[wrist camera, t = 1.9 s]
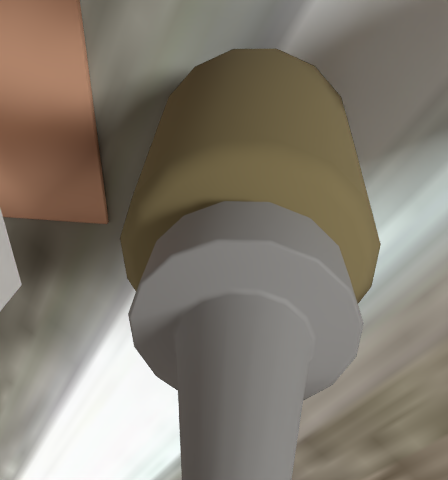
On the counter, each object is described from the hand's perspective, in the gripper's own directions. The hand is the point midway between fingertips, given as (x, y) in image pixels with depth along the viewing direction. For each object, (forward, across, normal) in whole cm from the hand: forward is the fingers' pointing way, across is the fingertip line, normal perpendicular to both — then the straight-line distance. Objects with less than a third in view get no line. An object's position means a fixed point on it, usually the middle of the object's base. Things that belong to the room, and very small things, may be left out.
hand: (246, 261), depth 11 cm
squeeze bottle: (+11, 0, 0) cm, 11 cm away
